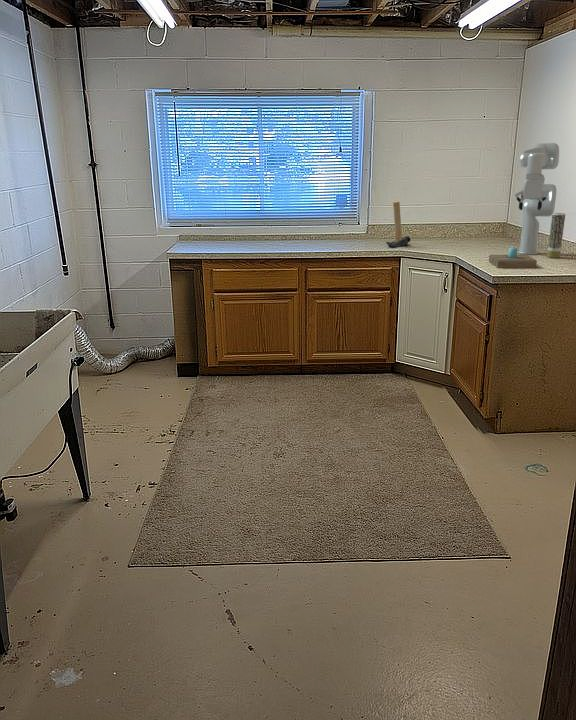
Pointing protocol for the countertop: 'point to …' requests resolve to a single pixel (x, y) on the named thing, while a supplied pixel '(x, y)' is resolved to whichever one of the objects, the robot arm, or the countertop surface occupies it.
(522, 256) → the socket block
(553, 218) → the bark patterned cylinder
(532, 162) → the robot arm
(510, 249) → the dowel peg
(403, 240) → the hammer
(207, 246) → the countertop surface
